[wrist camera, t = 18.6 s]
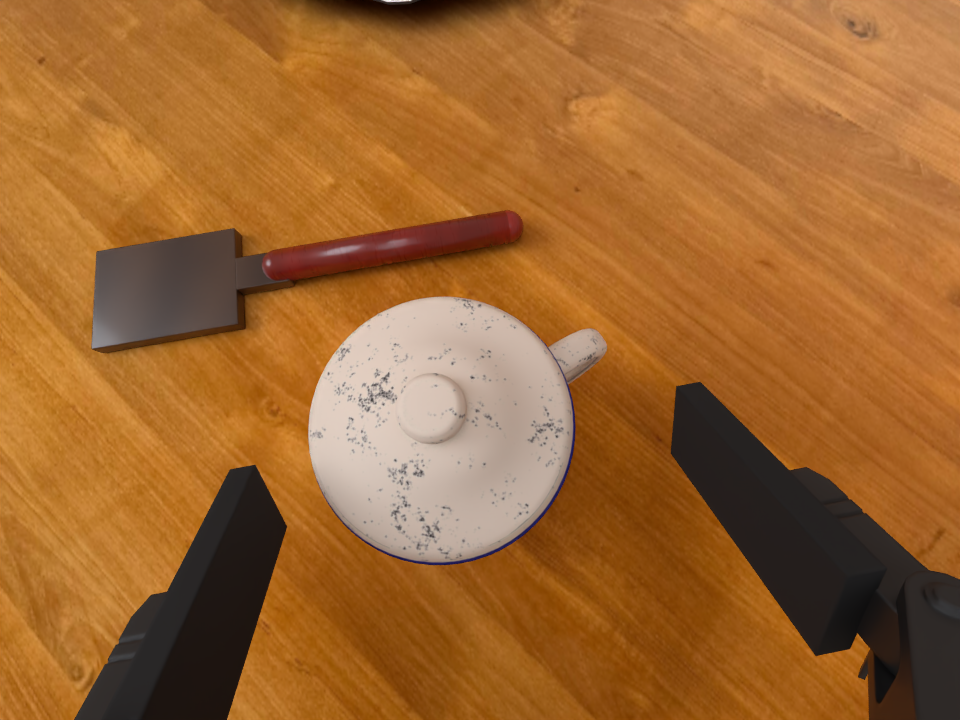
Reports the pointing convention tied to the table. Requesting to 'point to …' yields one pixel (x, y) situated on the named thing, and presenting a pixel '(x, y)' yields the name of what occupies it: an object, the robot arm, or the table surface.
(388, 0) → the plate
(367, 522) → the teacup with lid
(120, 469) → the table surface
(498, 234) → the spatula
